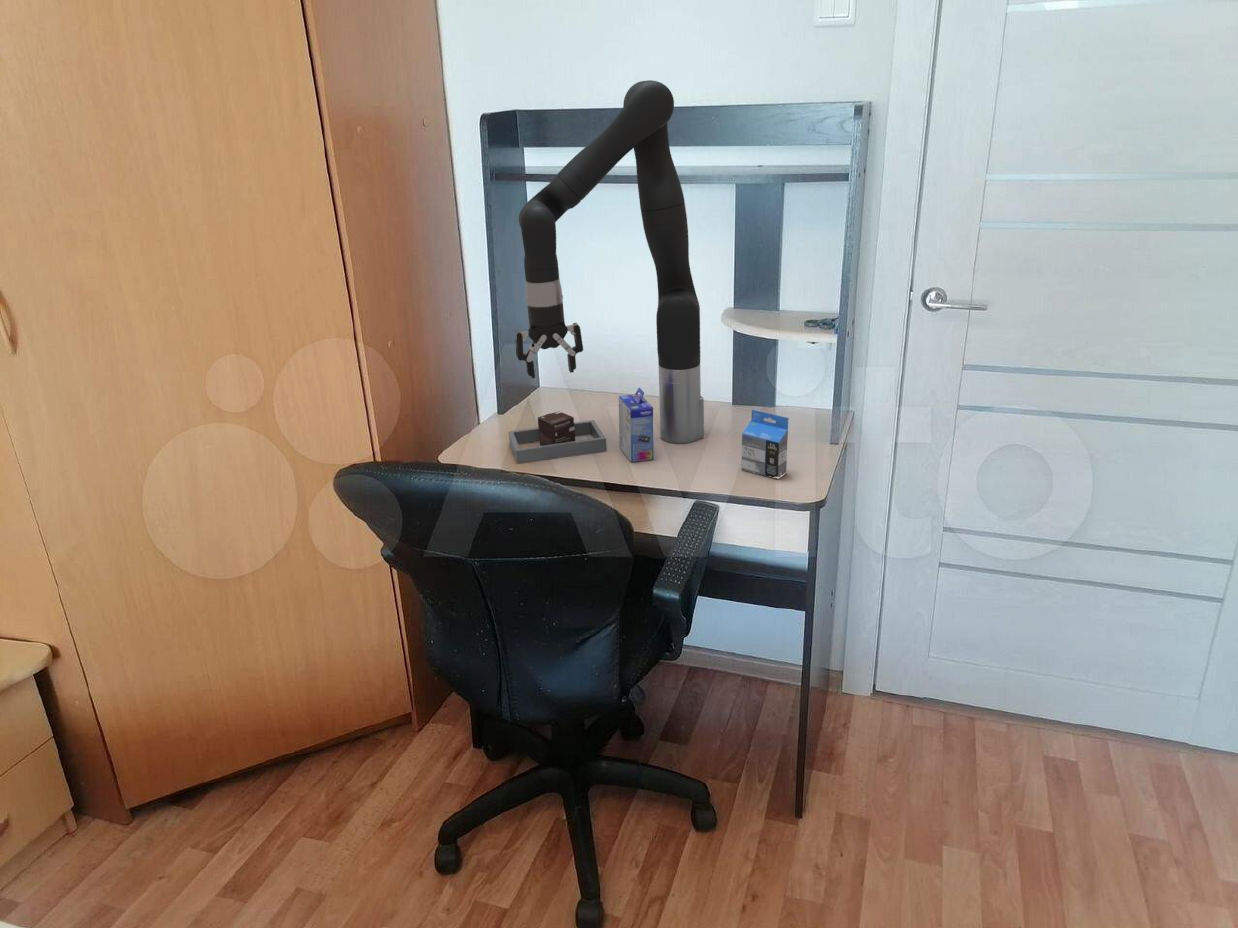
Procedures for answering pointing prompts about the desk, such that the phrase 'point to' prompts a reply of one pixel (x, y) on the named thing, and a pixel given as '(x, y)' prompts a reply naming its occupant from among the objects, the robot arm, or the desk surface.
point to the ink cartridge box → (636, 427)
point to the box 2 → (557, 449)
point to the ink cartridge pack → (765, 445)
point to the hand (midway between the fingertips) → (552, 374)
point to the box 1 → (556, 428)
